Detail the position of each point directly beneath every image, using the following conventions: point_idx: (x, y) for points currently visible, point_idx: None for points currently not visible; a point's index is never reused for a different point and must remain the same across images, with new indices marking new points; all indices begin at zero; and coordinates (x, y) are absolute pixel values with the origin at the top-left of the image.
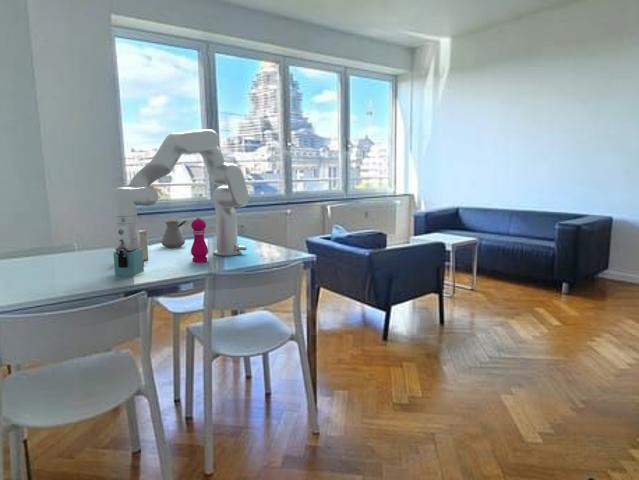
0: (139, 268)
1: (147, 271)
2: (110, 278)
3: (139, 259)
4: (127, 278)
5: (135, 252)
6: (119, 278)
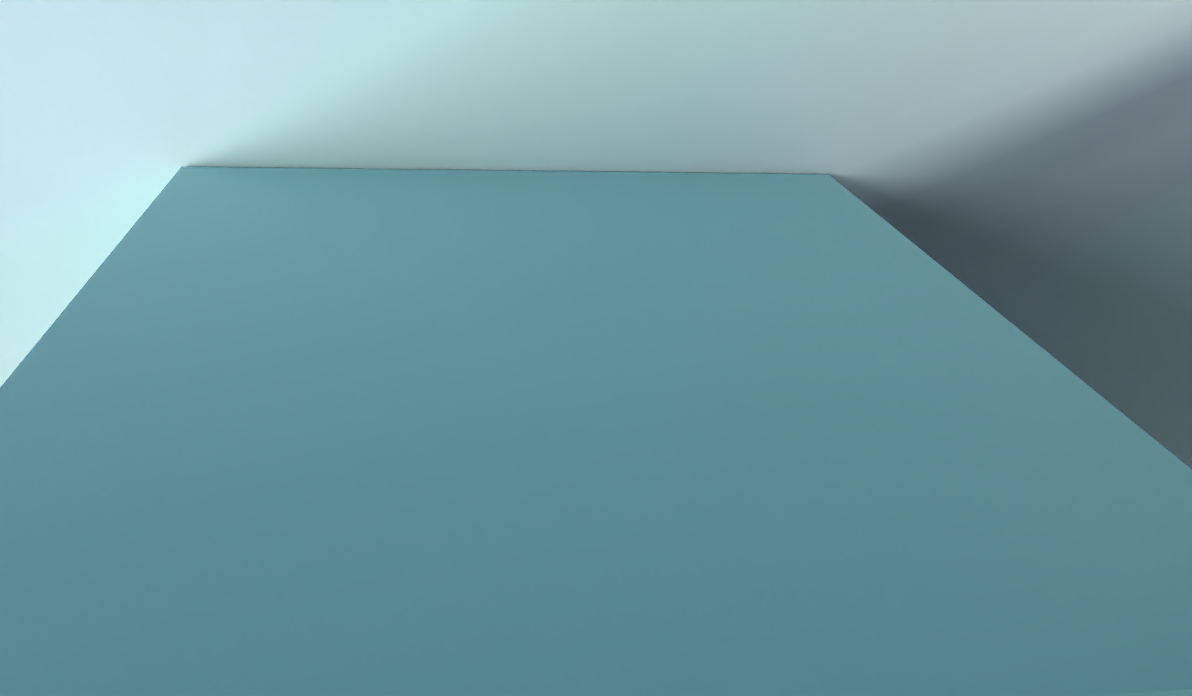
0: (513, 217)
1: (224, 10)
2: None
3: (481, 364)
4: (1133, 232)
5: (1129, 649)
6: None
